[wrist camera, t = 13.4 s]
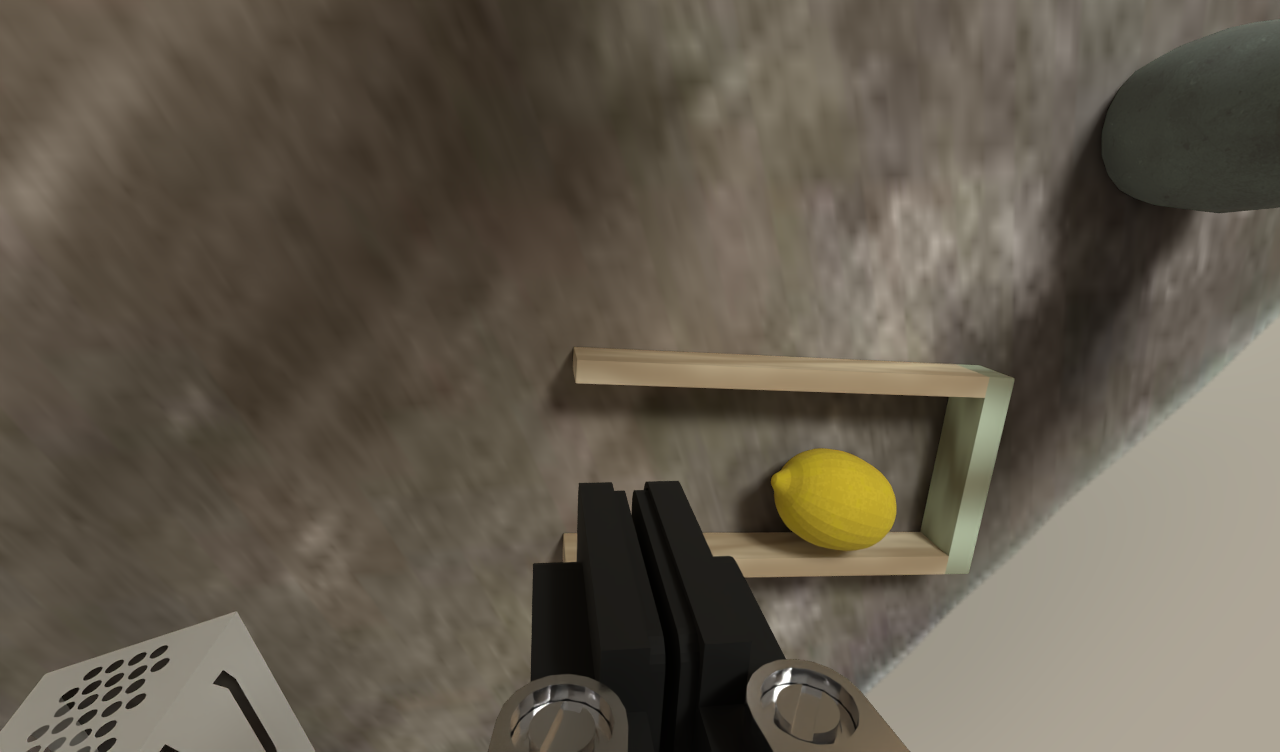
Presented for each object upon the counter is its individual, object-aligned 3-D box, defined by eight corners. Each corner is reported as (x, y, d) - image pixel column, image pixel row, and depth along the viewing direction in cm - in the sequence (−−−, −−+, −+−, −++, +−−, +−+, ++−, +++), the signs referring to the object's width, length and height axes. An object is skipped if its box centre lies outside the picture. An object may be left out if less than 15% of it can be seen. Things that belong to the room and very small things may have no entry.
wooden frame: (573, 346, 34) (577, 360, 32) (979, 365, 39) (1015, 378, 36) (562, 551, 37) (564, 580, 35) (938, 548, 42) (968, 573, 39)
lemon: (755, 548, 34) (877, 585, 36) (810, 481, 32) (939, 524, 33) (741, 477, 39) (850, 512, 41) (788, 412, 36) (903, 453, 38)
